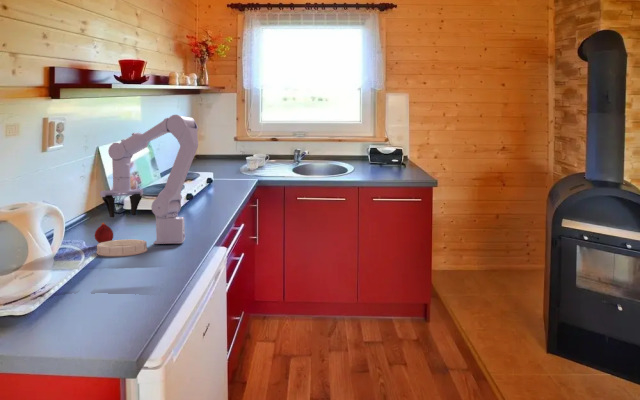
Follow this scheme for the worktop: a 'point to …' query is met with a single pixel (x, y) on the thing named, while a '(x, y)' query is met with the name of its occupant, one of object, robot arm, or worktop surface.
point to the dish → (121, 247)
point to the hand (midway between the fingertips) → (122, 216)
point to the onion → (103, 233)
